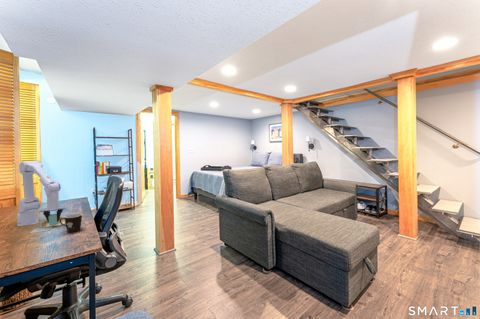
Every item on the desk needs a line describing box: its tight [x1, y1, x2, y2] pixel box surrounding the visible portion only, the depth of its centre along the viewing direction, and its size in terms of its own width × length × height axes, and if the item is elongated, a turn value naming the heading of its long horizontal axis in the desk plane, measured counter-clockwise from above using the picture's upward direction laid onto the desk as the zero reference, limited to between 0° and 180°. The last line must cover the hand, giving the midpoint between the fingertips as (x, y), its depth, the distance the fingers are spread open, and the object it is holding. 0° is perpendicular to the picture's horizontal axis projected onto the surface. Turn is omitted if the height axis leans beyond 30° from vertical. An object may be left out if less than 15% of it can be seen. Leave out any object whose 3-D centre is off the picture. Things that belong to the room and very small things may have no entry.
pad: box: [29, 226, 54, 234], centre depth 131 cm, size 9×9×1 cm
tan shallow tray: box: [41, 215, 66, 228], centre depth 142 cm, size 13×11×4 cm
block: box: [49, 213, 58, 225], centre depth 136 cm, size 4×4×6 cm
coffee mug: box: [60, 213, 83, 234], centre depth 130 cm, size 12×9×10 cm
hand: (53, 221), depth 136 cm, fingers closed on block, 4 cm apart
